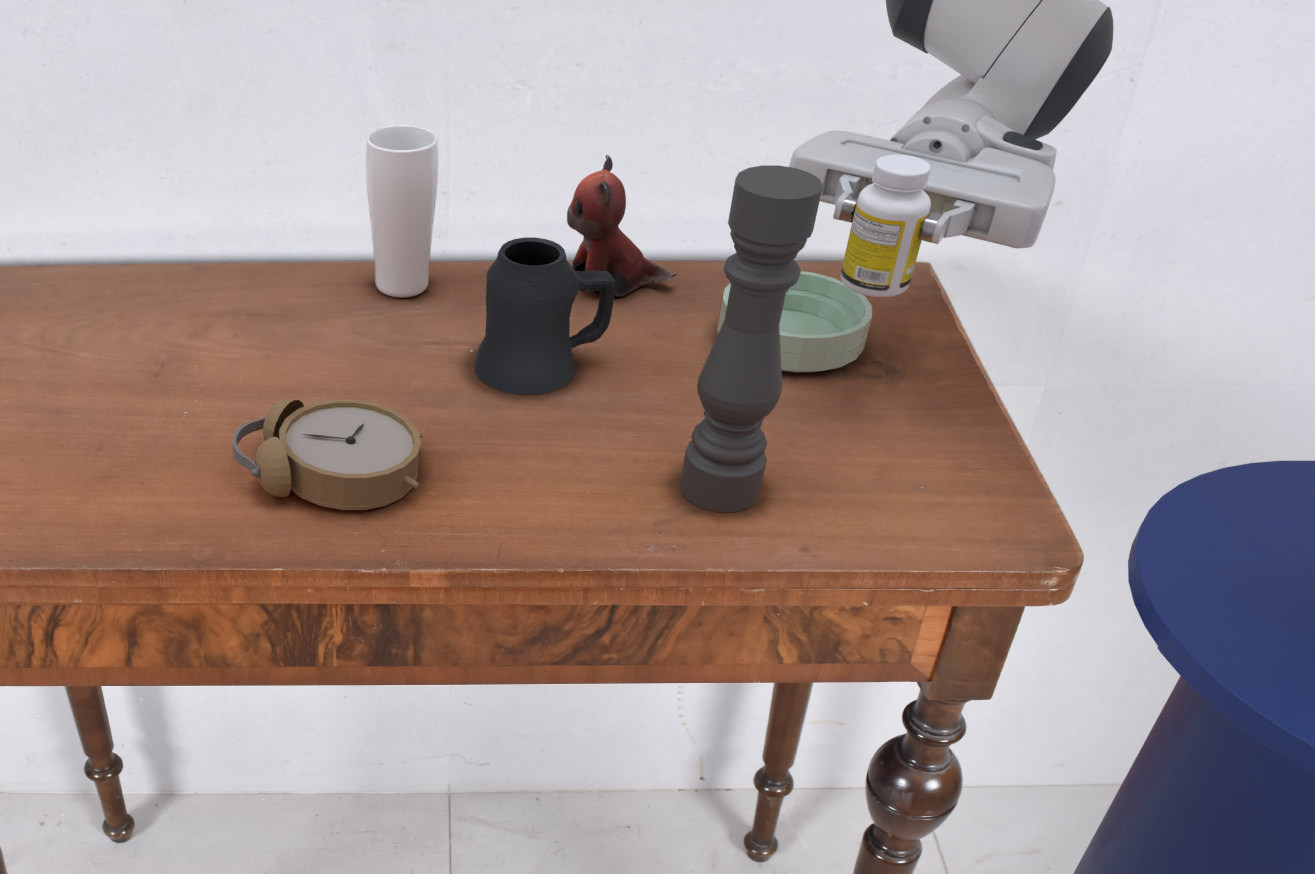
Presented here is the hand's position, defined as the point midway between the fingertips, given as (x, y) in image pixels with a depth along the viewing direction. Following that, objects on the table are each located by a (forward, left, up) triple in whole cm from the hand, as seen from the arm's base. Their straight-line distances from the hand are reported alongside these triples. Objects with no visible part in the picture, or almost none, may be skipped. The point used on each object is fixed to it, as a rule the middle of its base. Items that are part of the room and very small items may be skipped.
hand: (886, 222), depth 99 cm
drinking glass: (+44, +2, -17) cm, 47 cm away
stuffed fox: (+26, -11, -17) cm, 33 cm away
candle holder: (+4, +16, -17) cm, 24 cm away
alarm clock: (+31, +32, -17) cm, 48 cm away
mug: (+25, +8, -17) cm, 31 cm away
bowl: (+8, -9, -17) cm, 21 cm away
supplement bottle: (0, -1, -6) cm, 6 cm away
